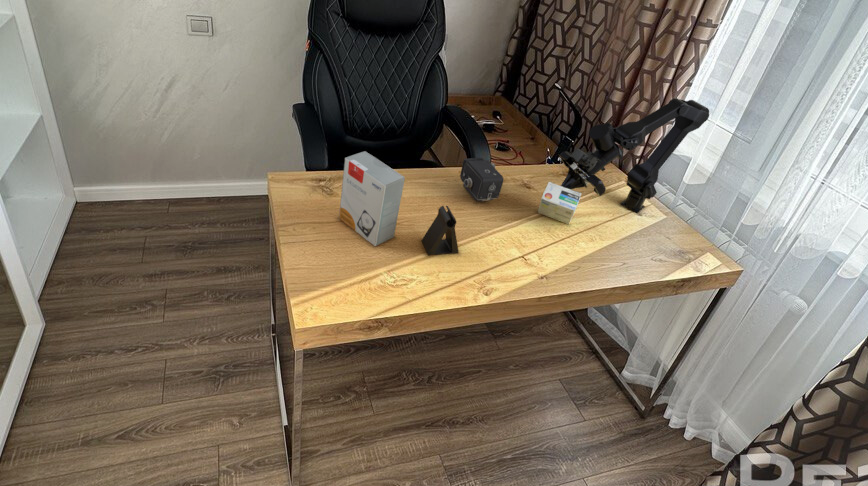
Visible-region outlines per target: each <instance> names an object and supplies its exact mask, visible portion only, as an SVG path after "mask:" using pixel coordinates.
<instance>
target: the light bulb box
mask: <svg viewBox="0 0 868 486" xmlns="http://www.w3.org/2000/svg"><path fill="white" fill-rule="evenodd" d="M582 195H583V194H582V192H581V191H577V190H575V189H568V188H565V187H562V186H561V184H557V183H555V182H552V181H548V183H547V184H546V187H545V189H544V191H543V194H542V196H541V198H540V201H539V205H538V210H537V213H538V214H540V215H543V216H545V217H548V218H550V219H553V220H556V221H559V222H561V223H563V224H566V225H570V223H571V222H572V220H573V219H572V218H573V217H574V215H575V212H576V210H577V208H578V205H579V202H580V200H581V197H582Z"/></svg>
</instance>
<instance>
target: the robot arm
mask: <svg viewBox="0 0 868 486" xmlns="http://www.w3.org/2000/svg"><path fill="white" fill-rule="evenodd" d="M709 117H710V109H709V108H708V107H706V106H705V105H703V104H702V103H699V102H697V101H696V100H694V99H689V100H685V99H681V98H671V99H670V100H669V101H668V103H666V104H665V105H663V106H661V107H660V108H658V109H656V110H654V111H653V112H651V113H649V114H648V115H646V116H644V117H643V118H641V119H639V120H637V121H636V120H635V121H629V122H626V123H624V124H621V125H619V126H616V127H614V126H613V124H611V123H610V122H609V121H607V122H604V123H599V124H596V125H593V126H592V127H591V128H590V129H589V131H588V137H589V138H590V140H591V142H592V144H593V146H594V149H595V150H593V151H592V150H590V151H587V152H585V151H583V150H582V149H580V148H578V147H576V148H574V151H572V153H570V152H569V151H567V150H565V151H563V152H561V153H560V154H559V155H558V156H559V158H560V160H561V162H562V163H563V165H564V166H565V167H566V168H567V169H568V171H567V174H566V176H565V178H564V180H562V182H561V184H560V186H562V187H565V188H568V189H571V190H575V189H579V188H586V189H587V188H588V186H589V184H590V186H592V187H593V192H594V193H595V194H596V195H597V196H598V197H601V196H603V195H604V194H605V192H606V190H607V188H606V186H605V184H604V182H603V180H602V179H600V178H599V177H598V176H597V175H596V174H597V173H599V172H600V171H601V172H604V171H606V168H605V167H606V166H608V165H609V164H610V163H611V162H612V161H614V160H615V159H616V158H617V159H619V160H622V159H623V157H624V156H623V155H624V150H626V151H633V150H634V149H636V148H637V147H638V146H639V145H641V144H642V143H644V141H645V138H646V137H647V136H648V135H650V134H651V133H653V132H654V131H656V130H658V129H659V128H661V127H662V126H664V125H666V124H668V123H669V122H671V121H672V120H674V124H673V126H671V128H670V129H669V131H668V132H667V133H666V134H665V136H664V137H663V139H662V140H661V141H660V142H659V144H658V145H657V146H656V147H655V149H654V150H653V151H652V153H650V155H649V156H648V157H647V159H646V160H645V161H644V162H642V163H635V164H634V166H633V167H632V168H631V170H629V171H628V174H627V176H626V178H627V179H626V186H627V187H628V188H630V190H629V192H628V194H627V196H626V198H625V199H624V200H623V201H621V202H620V206H623V207H625V208H626V209H628V210H631V211H632V212H634V213H636V214H639V213H640V212H641V211H642V210H643V209H645V205H644V203H645V201H646V200H651V199H652V198H654V197H655V196H656V195H657V193H658V191H657V189H656V187H655V185H656V183H657V181H658V179H659V171H660V170H661V168H662V167H663V165H664V164H665V163H666V162H667V161H668V159H669V158H670V157H671V155H672V154H673V153H674V152H675V151H676V149H677V148H678V147H679V145H680V144H681V143H682V142H683V140H684V139H685V138H686V137H687V136H688V134H689V133H691V132H693V131H695V130H698V129H700V128H701V126H703V125H704V124H705V123H706V122H707V121H708V119H709ZM619 146H620V147H621V148H620V147H619ZM622 148H623V149H624V150H623V149H622Z"/></svg>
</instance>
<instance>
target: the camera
mask: <svg viewBox="0 0 868 486" xmlns="http://www.w3.org/2000/svg"><path fill="white" fill-rule="evenodd" d="M459 178H460V180H461V182H462V183H463V186H462V187H463V188H464V189H465V190H466V191H467V193H468V194H469V195H470V196H471V197H472V199H473V200H474V201H475V202H489V201H493V200H495V199H499V197H500V194H501V191H502V187H503V184H504V179H505V178H504V177H503V175H502V174H501V173H500V172H499V171H498V170H497V168H496V164H495V163H493V162H492V163H491V162H490V161H489V160H488V159H483V157H476V158H475V157H472V158H464V159H463V161H462V166H461V170H460V174H459Z"/></svg>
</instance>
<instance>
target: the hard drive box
mask: <svg viewBox="0 0 868 486" xmlns="http://www.w3.org/2000/svg"><path fill="white" fill-rule="evenodd" d="M405 179H406V177H405V176H404V175H402V174H401V173H400V172H398V171H397V170H395V169H393V168H391V167H390V166H389V165H387V164H385V163H384V162H383V161H381V160H380V159H379V158H377V157H376V156H373V155H372V154H370V153H368V152H367V151H366V150H364V151H361V152H358V153H355V154H352V155H349V156H347V157H344V164H343V174H342V182H341V183H342V184H341V192H340V193H341V194H340V204H339V213H338V214H339V215H338V219H339V220H341V221H342V222H343V223H344V224H345V225H346V226H348V227H349V228H351V229H352V230H353V231H354V232H356V233H357V234H358V235H360V236H361V237H362V238H363V239H364V240H366V241H367V242H368V243H370V244H371V245H372V246H374V247H377V246H379V245H381V244H383V243H385V242H387V241H389V240H391V239H392V238H395V234H396V227H397V223H398V217H399V211H400V206H401V202H402V201H401V200H402V196H403V190H404V185H405Z"/></svg>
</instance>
